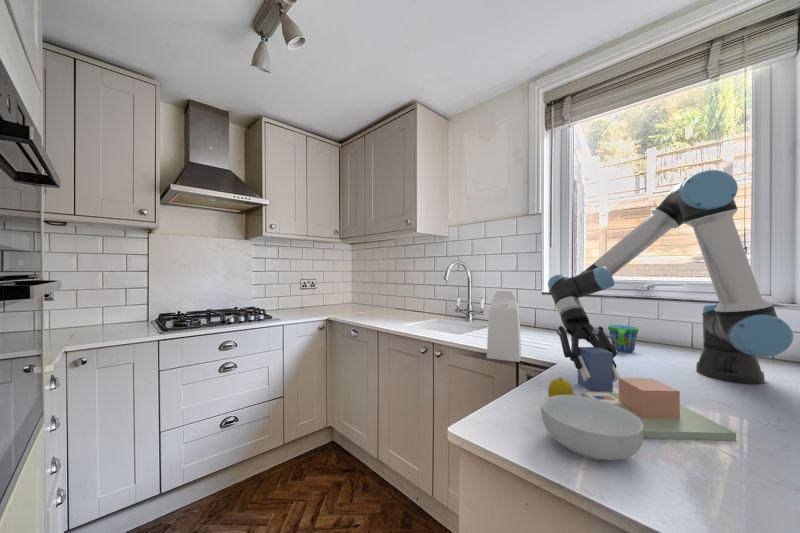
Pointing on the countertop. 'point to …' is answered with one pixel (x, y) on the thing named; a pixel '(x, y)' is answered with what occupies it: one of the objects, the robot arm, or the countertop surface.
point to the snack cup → (623, 337)
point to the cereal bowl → (592, 427)
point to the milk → (504, 328)
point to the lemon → (560, 388)
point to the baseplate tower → (662, 411)
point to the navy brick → (597, 369)
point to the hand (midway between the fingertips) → (601, 379)
